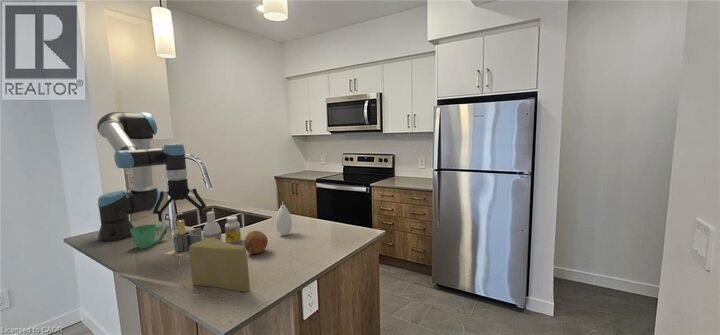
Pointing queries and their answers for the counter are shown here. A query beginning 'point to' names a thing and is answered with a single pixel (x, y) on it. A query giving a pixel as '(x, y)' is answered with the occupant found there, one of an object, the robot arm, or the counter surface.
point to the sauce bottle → (283, 220)
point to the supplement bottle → (232, 230)
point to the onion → (255, 242)
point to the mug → (146, 235)
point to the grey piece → (187, 240)
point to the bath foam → (211, 228)
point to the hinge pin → (181, 227)
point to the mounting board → (177, 253)
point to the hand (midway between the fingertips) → (182, 225)
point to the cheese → (219, 265)
